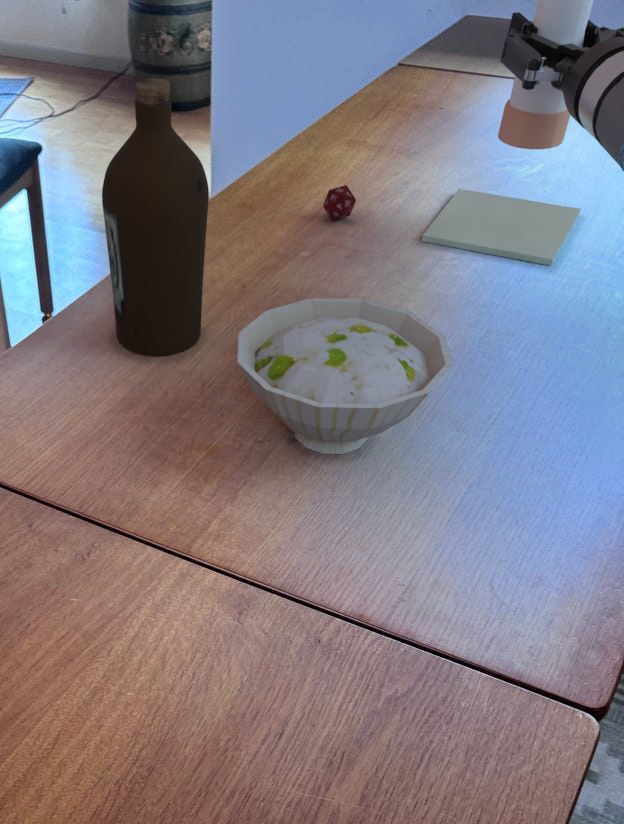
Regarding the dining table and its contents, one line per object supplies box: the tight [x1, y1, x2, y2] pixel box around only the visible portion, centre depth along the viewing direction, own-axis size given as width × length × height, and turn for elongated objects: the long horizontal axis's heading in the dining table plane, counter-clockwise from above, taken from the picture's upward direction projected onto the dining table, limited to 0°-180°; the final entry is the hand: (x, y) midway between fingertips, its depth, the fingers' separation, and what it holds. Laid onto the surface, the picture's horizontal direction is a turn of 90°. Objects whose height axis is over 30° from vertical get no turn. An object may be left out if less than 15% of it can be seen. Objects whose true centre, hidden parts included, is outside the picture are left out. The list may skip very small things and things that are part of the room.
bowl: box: [237, 297, 454, 455], centre depth 84 cm, size 19×19×10 cm
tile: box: [421, 188, 582, 267], centre depth 116 cm, size 16×16×1 cm
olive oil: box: [101, 77, 210, 357], centre depth 92 cm, size 11×11×25 cm
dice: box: [322, 184, 357, 222], centre depth 119 cm, size 4×4×4 cm
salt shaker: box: [497, 0, 594, 150], centre depth 99 cm, size 7×7×19 cm
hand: (540, 25), depth 102 cm, fingers closed on salt shaker, 5 cm apart
